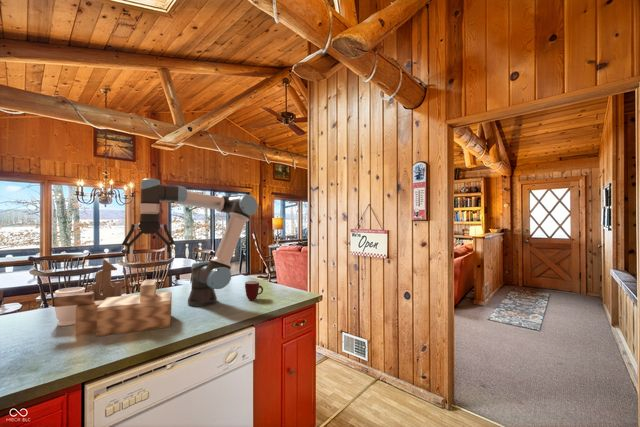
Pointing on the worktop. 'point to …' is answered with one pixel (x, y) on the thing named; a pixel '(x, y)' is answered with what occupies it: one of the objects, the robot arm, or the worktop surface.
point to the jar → (67, 307)
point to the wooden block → (74, 299)
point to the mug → (252, 289)
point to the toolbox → (120, 319)
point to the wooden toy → (106, 283)
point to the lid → (137, 298)
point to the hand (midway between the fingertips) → (148, 260)
